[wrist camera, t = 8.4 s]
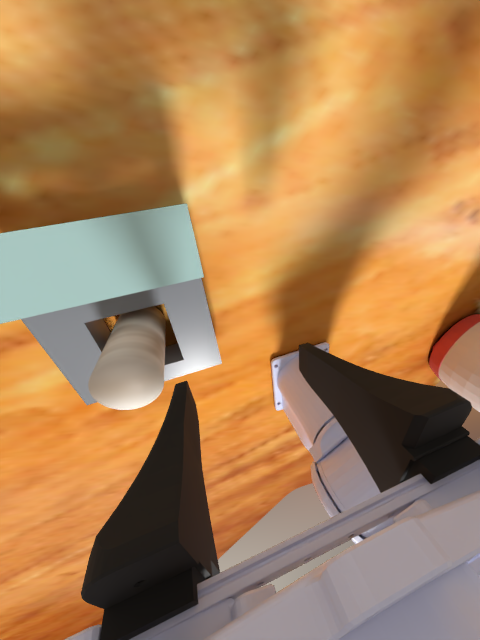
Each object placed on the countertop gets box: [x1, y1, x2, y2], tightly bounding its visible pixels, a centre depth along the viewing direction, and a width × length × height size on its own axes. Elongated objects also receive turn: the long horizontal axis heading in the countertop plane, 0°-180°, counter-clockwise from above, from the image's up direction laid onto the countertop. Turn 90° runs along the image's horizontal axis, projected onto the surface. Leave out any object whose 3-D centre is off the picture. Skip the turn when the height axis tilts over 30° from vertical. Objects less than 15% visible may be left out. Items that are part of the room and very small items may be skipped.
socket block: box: [0, 204, 222, 405], centre depth 16 cm, size 14×12×6 cm
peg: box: [88, 306, 166, 410], centre depth 16 cm, size 4×4×8 cm
